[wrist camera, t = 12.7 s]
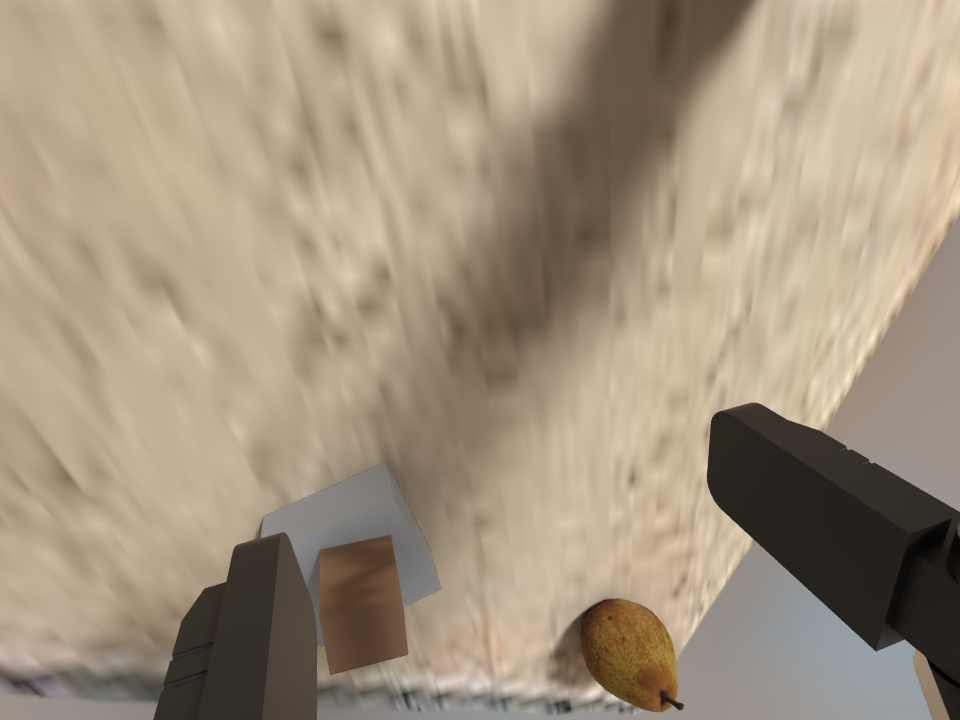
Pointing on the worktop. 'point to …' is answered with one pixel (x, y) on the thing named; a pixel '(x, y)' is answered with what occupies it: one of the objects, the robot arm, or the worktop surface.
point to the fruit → (631, 654)
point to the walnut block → (361, 604)
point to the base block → (357, 531)
